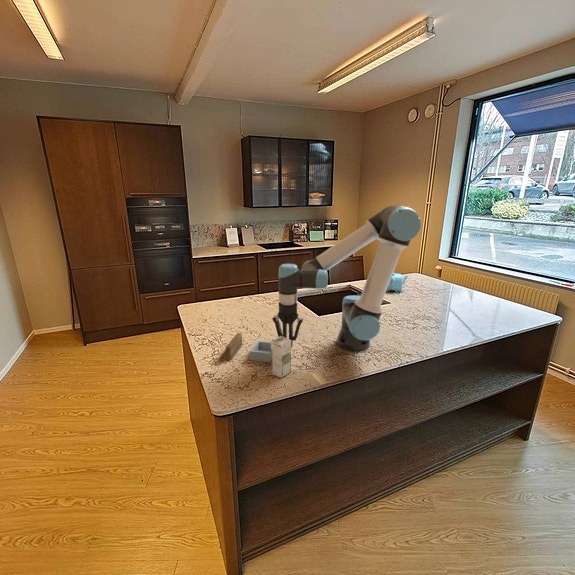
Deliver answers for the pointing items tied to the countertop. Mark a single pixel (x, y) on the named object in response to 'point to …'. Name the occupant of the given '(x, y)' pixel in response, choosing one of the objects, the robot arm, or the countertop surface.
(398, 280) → the teapot
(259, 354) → the blue gray square tray
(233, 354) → the base
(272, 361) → the syrup box
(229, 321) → the countertop surface
